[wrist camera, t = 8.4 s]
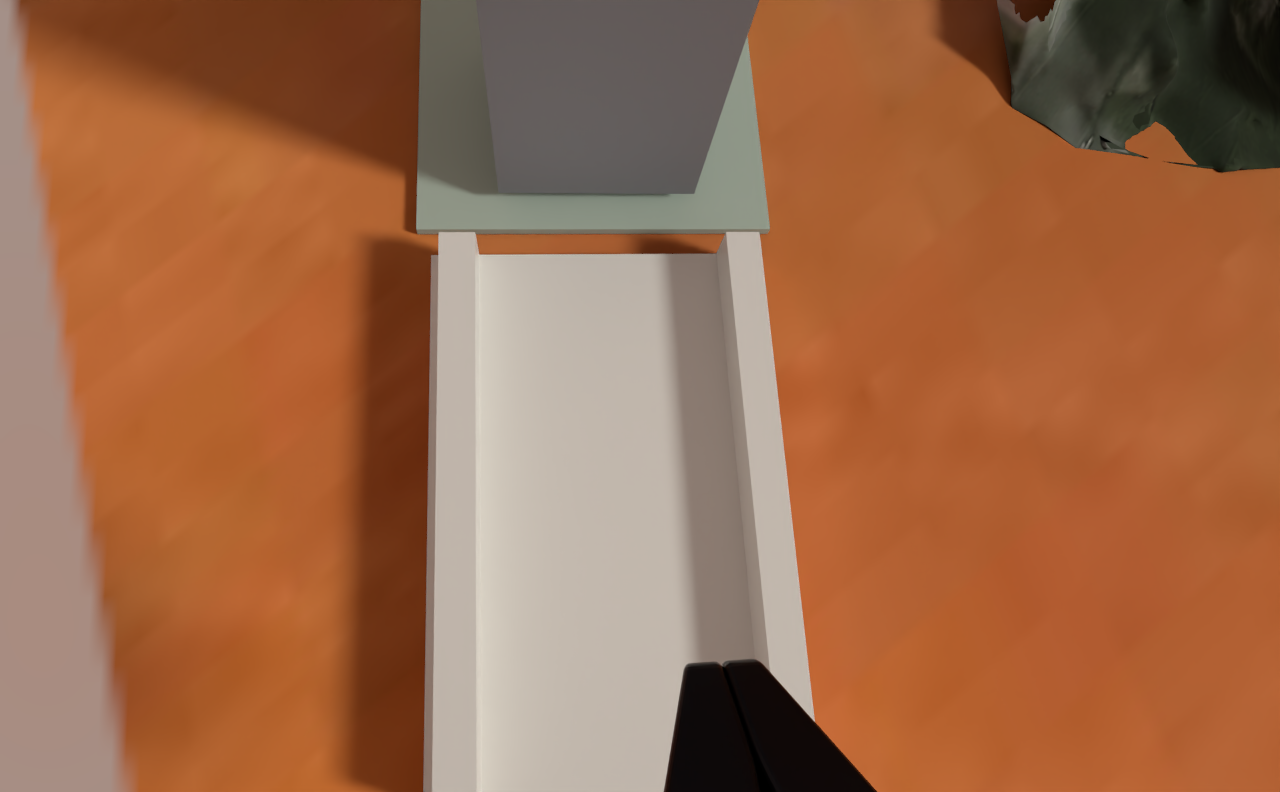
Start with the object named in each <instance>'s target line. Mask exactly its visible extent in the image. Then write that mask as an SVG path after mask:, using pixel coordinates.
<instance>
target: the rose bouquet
mask: <svg viewBox="0 0 1280 792" xmlns="http://www.w3.org/2000/svg"><path fill="white" fill-rule="evenodd" d="M997 5H998V10H999V15H1000V21H1001V26H1002V31H1003V37H1004V42H1005V47H1006V52H1007V58H1008V63H1009V68H1010V73H1011V105H1012V108H1013V109H1015V110H1017V111H1019V112H1021V113H1023V114H1025V115H1027V116H1029V117H1031V118H1032V119H1034V120H1036V121H1038V122H1040V123H1042V124H1044V125H1046V126H1047V127H1049V128H1050V129H1051V130H1053V131H1054V132H1055V133H1057V134H1058V135H1059V136H1061V137H1062V138H1063V139H1065V140H1066V141H1067V142H1069V143H1070V144H1071V145H1073V146H1074V147H1075V148H1082V149H1090V150H1096V151H1103V152H1111V153H1118V154H1126V155H1132V156H1139V157H1143V158H1147V157H1144V156H1141V155H1139V154H1136V153H1133V152H1130V151H1128V150H1126V149H1125V142H1126V140H1128V139H1130V138H1131V137H1132V136H1134V135H1136V134H1138V133H1140V132H1141V131H1144V130H1145V129H1146V128H1147V127H1150V126H1151V125H1152V124H1153V123H1154V122H1155V121H1156V122H1158V123H1159V124H1161V125H1163V126H1165V127H1166V128H1167V129H1168V130H1169V131H1170V132H1171V133H1172V134H1173V135H1174V136H1175V139H1176V140H1177V141H1178V143H1179V144H1180V145H1181V147H1182V148H1183V149H1184V151H1185V152H1186V153H1187V155H1188V156H1189V157H1190V158H1191V159H1192V160H1194V162H1196V163H1197V164H1198V165H1192V164H1183V163H1174V162H1169V163H1174V164H1181V165H1187V166H1193V167H1201V168H1213V169H1216V170H1218V171H1220V172H1228V171H1237V170H1247V169H1266V168H1280V0H1056V1H1055V3H1054V7H1053V11H1052V10H1051V9H1050V12H1049V14H1048V16H1045V21H1042V22H1040V20H1039V18H1038V16H1036V17H1035V18H1033V19H1031V20H1030V21H1028V22H1027V23H1026V22H1024V21H1023V20H1022V19H1020V13H1017V14H1015V9H1014V8H1015V4H1014V3H1012V2H1011V1H1010V0H997ZM1164 162H1165V161H1164Z"/></svg>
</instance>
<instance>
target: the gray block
mask: <svg viewBox="0 0 1280 792" xmlns="http://www.w3.org/2000/svg"><path fill="white" fill-rule="evenodd" d="M758 2H759V0H476V5H477V13H478V22H479V30H480V39H481V48H482V56H483V65H484V73H485V82H486V90H487V99H488V107H489V116H490V124H491V133H492V141H493V150H494V158H495V167H496V175H497V184H498V192H499V193H600V194H694V193H695V190H696V187H697V184H698V181H699V178H700V175H701V172H702V169H703V166H704V163H705V160H706V157H707V154H708V151H709V148H710V145H711V142H712V139H713V136H714V133H715V130H716V127H717V124H718V121H719V118H720V115H721V112H722V109H723V106H724V103H725V100H726V97H727V94H728V91H729V88H730V85H731V83H732V80H733V77H734V74H735V71H736V68H737V65H738V62H739V59H740V56H741V53H742V50H743V47H744V44H745V41H746V38H747V35H748V32H749V29H750V26H751V23H752V20H753V17H754V14H755V11H756V8H757V5H758Z"/></svg>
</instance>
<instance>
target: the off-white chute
mask: <svg viewBox="0 0 1280 792" xmlns="http://www.w3.org/2000/svg"><path fill="white" fill-rule="evenodd" d="M741 659H756V660H758V661H760V662H761V663H762V664H763V665H764V666H765V667H766V668H767V669H768V670H769V671H770V672H771V674H772V675H773V676H774V677H775V678H776V679H777V680H778V681H779V682H780V684H781V685H782V686H783V687H784V688H785V689H786V690H787V691H788V693H789V694H790V695H791V696H792V697H793V698H794V699H795V700H796V702H797V703H798V704H799V705H800V706H801V707H802V708H803V709H804V710H805V712H806V713H807V714H808V715H809V716H810V717H811V718H812V719H813V721H814V722H815V720H814V711H813V702H812V693H811V684H810V675H809V667H808V658H807V649H806V640H805V631H804V622H803V614H802V605H801V596H800V587H799V578H798V569H797V560H796V552H795V543H794V534H793V525H792V516H791V507H790V498H789V490H788V481H787V472H786V463H785V454H784V445H783V436H782V428H781V419H780V410H779V401H778V392H777V383H776V375H775V366H774V357H773V348H772V339H771V330H770V321H769V313H768V304H767V295H766V286H765V277H764V268H763V259H762V251H761V242H760V233H759V232H726V233H725V235H724V238H723V240H722V242H721V244H720V247H719V249H718V251H717V253H716V254H532V255H479V250H478V245H477V239H476V234H475V232H439V248H438V255H431V304H430V372H429V440H428V507H427V575H426V642H425V710H424V778H423V792H664V786H665V780H666V774H667V768H668V762H669V756H670V750H671V743H672V737H673V731H674V725H675V719H676V713H677V707H678V701H679V694H680V688H681V682H682V676H683V670H684V667H685V666H686V665H687V664H688V663H698V662H713V661H714V662H718V663H720V664H721V666H722V663H724V662H725V661H728V660H741Z"/></svg>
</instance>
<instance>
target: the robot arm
mask: <svg viewBox="0 0 1280 792" xmlns="http://www.w3.org/2000/svg"><path fill="white" fill-rule="evenodd" d="M664 792H877V791H876V790H875V789H874V788H873V787H872V786H871V784H870V783H869V782H868V781H867V780H866V779H865V778H864V777H863V775H862V774H861V773H860V772H859V771H858V770H857V769H856V768H855V766H854V765H853V764H852V763H851V762H850V761H849V760H848V759H847V758H846V756H845V755H844V754H843V753H842V752H841V751H840V750H839V749H838V747H837V746H836V745H835V744H834V743H833V742H832V741H831V740H830V738H829V737H828V736H827V735H826V734H825V733H824V732H823V731H822V730H821V728H820V727H819V726H818V725H817V724H816V723H815V722H814V721H813V719H812V718H811V717H810V716H809V715H808V714H807V713H806V712H805V710H804V709H803V708H802V707H801V706H800V705H799V704H798V703H797V702H796V700H795V699H794V698H793V697H792V696H791V695H790V694H789V693H788V691H787V690H786V689H785V688H784V687H783V686H782V685H781V684H780V682H779V681H778V680H777V679H776V678H775V677H774V676H773V675H772V674H771V672H770V671H769V670H768V669H767V668H766V667H765V666H764V665H763V664H762V663H761V662H760V661H758V660H756V659H741V660H728V661H725V662H724V663H722V666H721V664H720V663H718V662H714V661H713V662H698V663H688V664H687V665H686V666H685V667H684V670H683V676H682V682H681V688H680V694H679V701H678V707H677V713H676V719H675V725H674V731H673V737H672V743H671V750H670V756H669V762H668V768H667V774H666V780H665V786H664Z"/></svg>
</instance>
